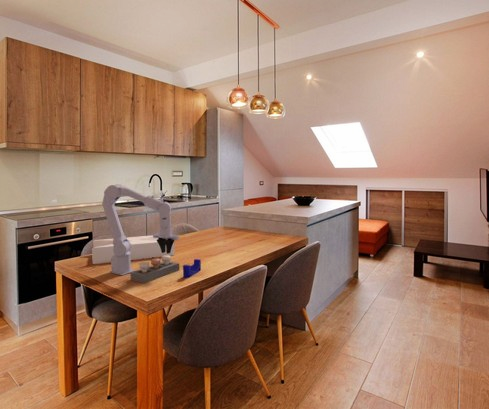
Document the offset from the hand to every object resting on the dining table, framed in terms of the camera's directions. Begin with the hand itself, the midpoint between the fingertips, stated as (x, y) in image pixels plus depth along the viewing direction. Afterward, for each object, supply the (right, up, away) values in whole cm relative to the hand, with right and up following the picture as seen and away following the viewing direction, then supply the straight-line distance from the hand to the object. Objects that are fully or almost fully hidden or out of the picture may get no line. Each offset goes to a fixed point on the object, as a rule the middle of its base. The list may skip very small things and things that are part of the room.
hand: (166, 252), depth 160 cm
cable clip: (+13, -10, -3) cm, 17 cm away
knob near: (-7, -8, -11) cm, 16 cm away
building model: (-28, -7, +32) cm, 43 cm away
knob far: (0, -7, +1) cm, 7 cm away
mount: (-4, -10, -5) cm, 12 cm away
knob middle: (-4, -7, -5) cm, 10 cm away
